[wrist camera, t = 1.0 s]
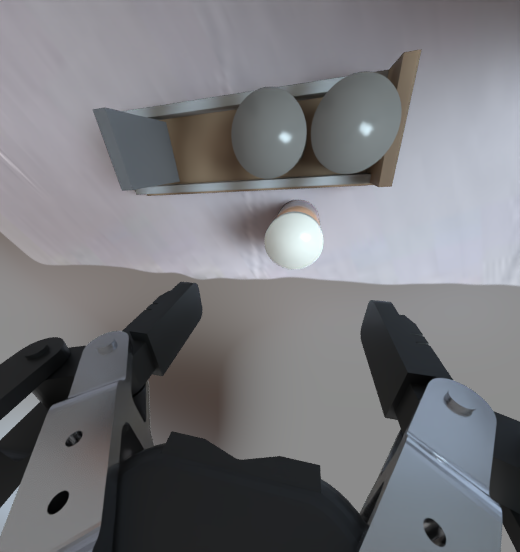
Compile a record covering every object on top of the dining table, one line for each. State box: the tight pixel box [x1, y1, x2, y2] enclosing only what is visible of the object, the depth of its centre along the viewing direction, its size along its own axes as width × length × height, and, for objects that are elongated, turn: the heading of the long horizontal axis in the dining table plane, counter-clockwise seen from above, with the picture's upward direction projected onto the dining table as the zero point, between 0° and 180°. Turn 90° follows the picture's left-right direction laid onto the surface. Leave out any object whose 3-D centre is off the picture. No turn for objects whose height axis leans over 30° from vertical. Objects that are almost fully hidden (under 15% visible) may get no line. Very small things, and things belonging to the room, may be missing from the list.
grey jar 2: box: [311, 72, 402, 174], centre depth 17 cm, size 6×6×8 cm
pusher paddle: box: [93, 108, 180, 191], centre depth 21 cm, size 1×6×8 cm, turn 4°
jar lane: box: [122, 49, 422, 196], centre depth 21 cm, size 28×9×6 cm, turn 94°
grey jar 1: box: [231, 87, 307, 179], centre depth 18 cm, size 6×6×8 cm
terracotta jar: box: [264, 200, 323, 270], centre depth 23 cm, size 6×6×8 cm
